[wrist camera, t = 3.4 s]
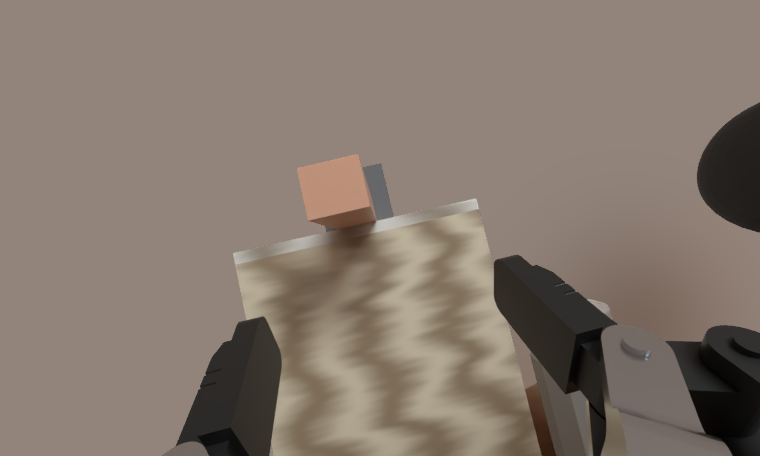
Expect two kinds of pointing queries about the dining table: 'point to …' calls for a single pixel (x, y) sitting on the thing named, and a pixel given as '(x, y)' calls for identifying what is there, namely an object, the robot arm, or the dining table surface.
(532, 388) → the dining table surface
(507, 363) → the beige zigzag box
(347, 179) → the salmon and grey blocks
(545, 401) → the jar
